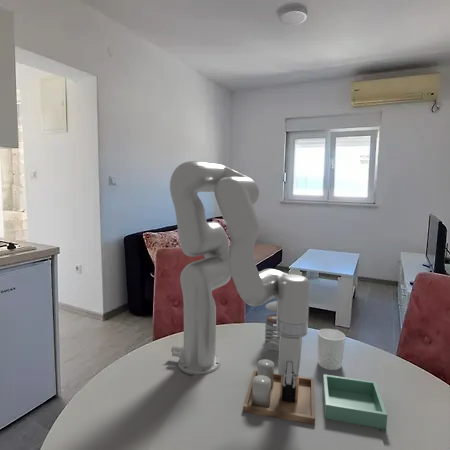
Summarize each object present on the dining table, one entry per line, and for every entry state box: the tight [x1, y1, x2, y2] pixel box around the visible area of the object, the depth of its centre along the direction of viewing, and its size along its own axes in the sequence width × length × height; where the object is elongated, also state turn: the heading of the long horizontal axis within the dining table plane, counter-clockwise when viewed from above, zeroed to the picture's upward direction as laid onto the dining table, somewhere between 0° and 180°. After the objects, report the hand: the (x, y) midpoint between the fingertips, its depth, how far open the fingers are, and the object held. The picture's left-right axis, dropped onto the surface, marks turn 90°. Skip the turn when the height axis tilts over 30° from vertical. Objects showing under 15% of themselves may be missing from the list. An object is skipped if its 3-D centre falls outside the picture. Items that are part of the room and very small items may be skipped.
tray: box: [242, 369, 316, 426], centre depth 85 cm, size 16×16×2 cm
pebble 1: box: [256, 358, 275, 388], centre depth 89 cm, size 4×4×6 cm
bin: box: [322, 373, 388, 432], centre depth 82 cm, size 13×13×4 cm
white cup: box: [317, 328, 346, 371], centre depth 101 cm, size 8×8×10 cm
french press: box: [261, 300, 280, 352], centre depth 111 cm, size 10×12×25 cm
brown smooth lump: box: [280, 371, 300, 403], centre depth 84 cm, size 4×4×6 cm
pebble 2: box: [252, 375, 271, 408], centre depth 82 cm, size 4×4×6 cm
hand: (289, 394), depth 84 cm, fingers closed on brown smooth lump, 4 cm apart
